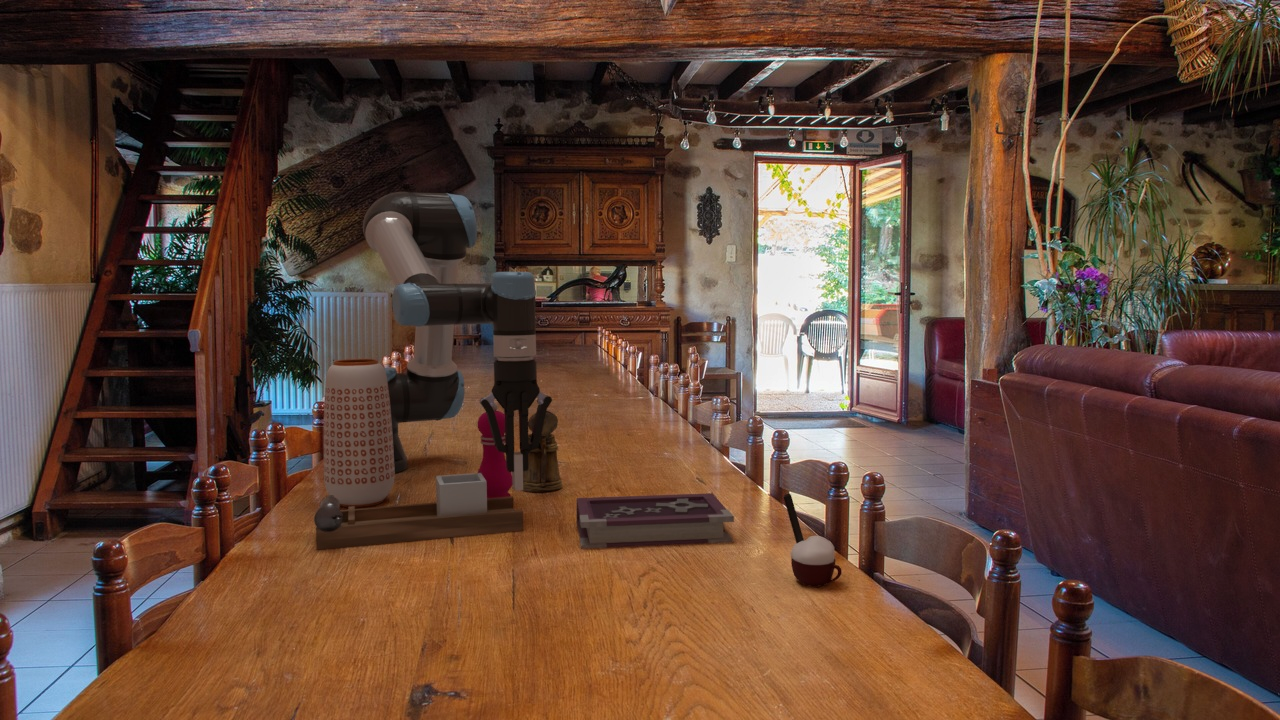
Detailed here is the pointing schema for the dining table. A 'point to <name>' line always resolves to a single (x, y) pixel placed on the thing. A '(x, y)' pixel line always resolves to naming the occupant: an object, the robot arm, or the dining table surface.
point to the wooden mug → (543, 459)
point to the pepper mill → (494, 458)
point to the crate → (461, 494)
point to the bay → (417, 524)
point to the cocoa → (810, 554)
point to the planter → (358, 433)
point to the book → (651, 520)
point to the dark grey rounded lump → (328, 514)
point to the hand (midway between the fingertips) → (517, 488)
